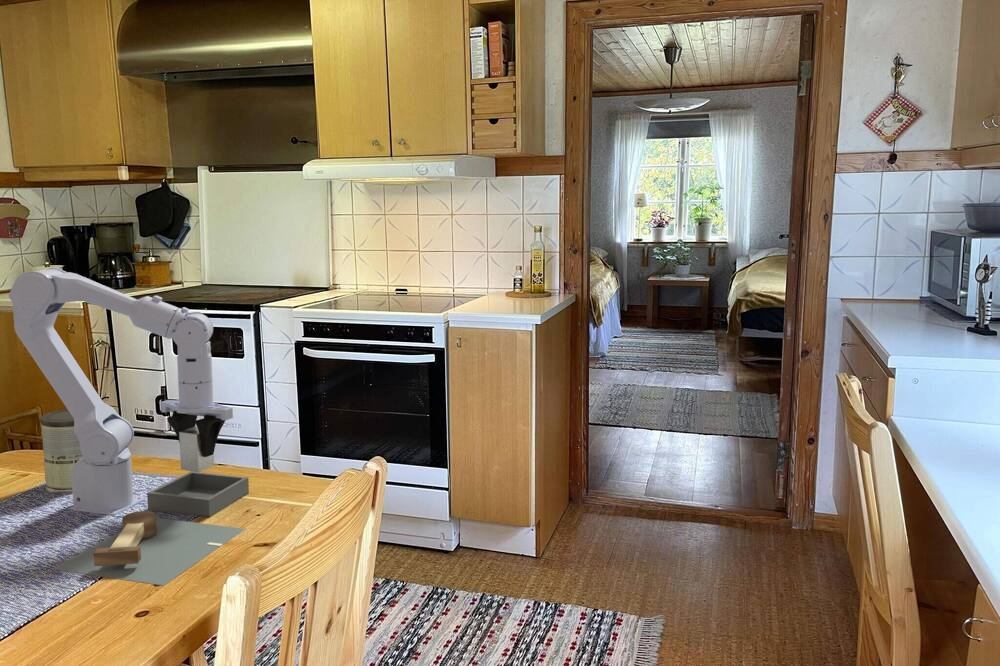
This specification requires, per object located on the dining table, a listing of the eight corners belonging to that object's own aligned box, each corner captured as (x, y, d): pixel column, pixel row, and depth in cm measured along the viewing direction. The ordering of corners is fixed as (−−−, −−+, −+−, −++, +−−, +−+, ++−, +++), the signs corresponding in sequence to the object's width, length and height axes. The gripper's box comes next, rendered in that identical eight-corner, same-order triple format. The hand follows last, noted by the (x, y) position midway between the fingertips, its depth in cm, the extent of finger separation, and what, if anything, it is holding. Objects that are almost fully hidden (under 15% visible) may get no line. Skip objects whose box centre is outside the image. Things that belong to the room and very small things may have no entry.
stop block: (181, 469, 138) (179, 431, 137) (196, 462, 142) (195, 426, 141) (198, 472, 137) (197, 434, 136) (214, 465, 140) (212, 428, 139)
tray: (148, 511, 136) (147, 492, 136) (191, 488, 148) (190, 471, 147) (209, 519, 133) (209, 500, 133) (248, 495, 145) (248, 477, 145)
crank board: (51, 571, 113) (51, 568, 113) (148, 518, 133) (148, 516, 133) (163, 588, 108) (163, 584, 108) (245, 531, 128) (245, 528, 128)
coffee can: (40, 482, 150) (36, 412, 148) (99, 472, 156) (95, 405, 154) (49, 497, 142) (44, 423, 140) (110, 486, 148) (106, 416, 146)
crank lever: (124, 529, 127) (123, 511, 126) (163, 527, 128) (162, 509, 128) (94, 571, 112) (93, 552, 111) (138, 568, 113) (137, 549, 112)
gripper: (146, 381, 136) (150, 455, 138) (212, 388, 131) (215, 465, 133) (176, 374, 143) (179, 444, 145) (239, 381, 138) (241, 454, 140)
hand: (198, 453), depth 139 cm, fingers closed on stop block, 4 cm apart
